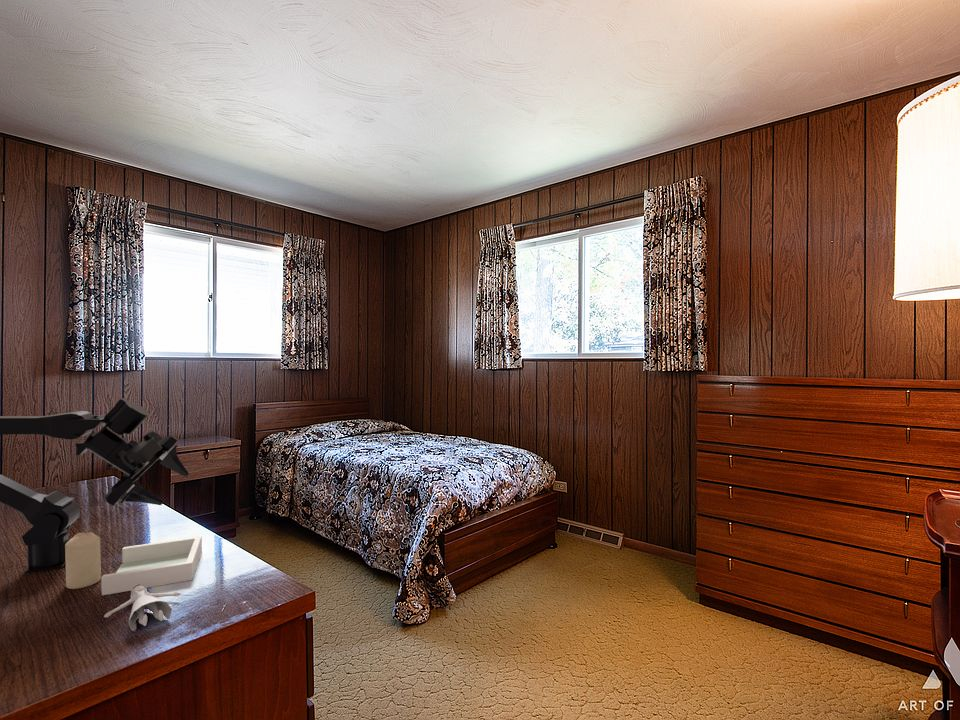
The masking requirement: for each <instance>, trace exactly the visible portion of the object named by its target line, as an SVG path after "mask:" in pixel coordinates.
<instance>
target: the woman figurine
mask: <svg viewBox="0 0 960 720" xmlns="http://www.w3.org/2000/svg"><path fill="white" fill-rule="evenodd" d="M147 590H148V589H147V588H145V587H144V586H143V585H140V584H137V585H135V586H134V587H133V588H132V590H131V591H130V598H129V600H127V601H125V602H124V603H122V604H120V605H119V606H118V607H116V608H114V609H112V610H110V611H108V612H106V613H105V614H104V616H103V618H108V617H110V616H111V615H113V614H114V613H116V612H118V611H120V610H122V609H124V608H126V607H128V606H129V605H132V607H131V611H130V615H129V619H128V626H129V627H130V630H131V631H132V632H135V631H134V627H135V621H136V618H137V615H138V617H139V620H138V623H139V624H140V625H142V626H144V627H146V626H147V624H148V623H147V622H148V616H147V613H145V614H144V609H149V610H150V611H152V612H153V614H152V615H153V617H154V618H155V619H157V620H159V621H160V622H162V621H164V620H163V615H164V616H165V617H166V618H167V619H168V620H170V619H171V615H172V611H173V608H172V607H171V606H170V605H169V603H168V602H167V601H165V600H163V599H161V598H164V597H165V598H166V597H180V596H182V593H180V592H178V591H176V592H173V593H171V592H170V593H168V592H166V593H165V592H161V593H158V592H157V593H151V592H149V591H147ZM153 622H154V621H153Z"/></svg>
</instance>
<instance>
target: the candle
mask: <svg viewBox="0 0 960 720" xmlns="http://www.w3.org/2000/svg"><path fill="white" fill-rule="evenodd" d="M65 561H66V564H65V586H66V588H67V589H69V590H70V589H71V590H75V589H77V590H78V589H83V588H85V587H90V586H93V585H95V584H97V583H98V582H100V580H101V577H102V571H101V566H102V565H101V564H102V563H101V537H100V536H99V535H96V533H94V532H92V531H90V532H87V533H86V532H78V533H76V534H75V535H74V536H73V537H71V538H70V540H69V541H68V542H67V543H66V544H65Z"/></svg>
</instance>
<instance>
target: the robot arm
mask: <svg viewBox="0 0 960 720" xmlns="http://www.w3.org/2000/svg"><path fill="white" fill-rule="evenodd" d="M149 416H150V413H149V412H148V410H146V408H144V407H143V406H141V405H139V404H136V403H134V402H132V401H129V400H127V399H126V398H119V400H117V402H116V403H115V405H114V406H113V407H112V408H111V409H110V410H109V412H107V413H106V414H102V415H101V414H100V415H98V414H97V415H96V414H95V415H94V414H92V413H91V412H90V411H86V410H77V411H70V412H64V413H63V412H62V413H57V414H52V415H51V414H49V415H37V416H36V415H29V416H28V415H25V416H24V415H23V416H22V415H19V416H18V415H10V416H8V415H6V416H5V415H4V416H3V415H2V416H1V415H0V435H1V436H2V435H41V436H46V437H50V438H54V439H55V438H56V439H62V440H69V441H70V440H76V439H78V438H82V437H85V436H87V435H88V436H87V437H86V438H85V439H84V440H83V441H79V442H76V443H74V444H75V448H76V449H75V455H76V456H81V455H83V454H85V453H87V451H90V453H92V454H94V455H96V456H97V457H98V458H101V459H102V460H104V461H105V462H107V467H108V468H110V469H112V468H116V469H118V470H119V471H121V472H123V473H124V476H122V477H121V478H120V479H119V480H118V481H117V482H116V483H115V484H114V485H113V486H111V488H110V489H109V490H108V492H107V493H106V494H105V495H104V498H105V502H107V504H110V505H111V506H113V507H114V506H115V505H117V504H118V503H120V504H124V503H125V502H129V503H141V504H142V503H144V504H151V505H155V506H156V505H158V506H162V505H163V504H164V501H163V500H162V499H160V498H159V497H157V496H156V495H154V494H153V493H152V492H150V491H147V490H146V489H144V488H143V486H142V485H141V483H140V482H137V483H136V484H134V483H135V482H136V481H137V480H139V478H140V477H141V476H142V475H143V474H144V473H145V472H146V471H147V470H148V469H150V468H151V466H153V464H155V462H157V461H159V460H160V461H161V462H159V464H160V465H162V466H164V467H165V468H166V469H169V470H171V471H173V472H175V473H176V474H178V475H180V476H182V477H185V478H187V477H188V476H190V473H189V471H188V470H187V469H186V467H185V466H184V464H183V463H182V461H181V460H180V458H179V456H178V454H177V448H178V447H179V446H178V444H177V443H178V442H179V439H177V438H176V437H175V436H172V435H166V436H165V437H164V438H163V437H162V436H161V435H160V434H159V433H157V432H156V431H153V430H150V431H149V432H147V433H145V435H144V436H143V438H142V439H143V440H142V441H141V442H137V441H135V440H133V439H132V440H131V441H128V440H126V439H125V438H123V437H122V436H125V435H133V433H134V432H135V431H136V430H137V429H138V428H139V427H140V425H142V423H143V422H145V421H146V419H147V418H148V417H149ZM99 427H102V428H101V429H100V430H99V431H98V432H97V431H94V430H95V429H96V428H99ZM74 500H76V498H75V497H70V496H67V495H66V494H64V493H63V492H61V491H59V490H55V491H53V492H51V493H49V494H43V493H40V492H37V491H35V490H33V489H31V488H29V487H27V486H25V485H23V484H21V483H19V482H17V481H15V480H13V479H11V478H9V477H7V476H5V475H3V474H1V473H0V504H2V505H4V506H7V507H9V508H11V509H14V510H15V511H17V512H19V513H21V514H22V516H23V517H24V519H25V520H26V522H27V523H28V524H29V525H30V526H32V527H30V528H29V530H27V531H26V532H25V533H24V534H23V535H22V536H21V539H22V542H23V543H24V545H25V546H26V547H27V568H25V569H24V573H25V574H26V573H33V572H39V571H40V572H41V571H48V570H53V569H59V568H63V567H64V566H66V561H65V544H66V543H67V542H68V541H69V540H70V539H71V538H70V539H69V536H70V535H69V532H67V531H69V530H70V529H71V527H72V524H74V523H75V522H76V521H77V520H78V519H79V518H80V513H81V509H80V507H81V506H80V505H79V503H77V502H76V501H74Z"/></svg>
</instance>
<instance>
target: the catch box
mask: <svg viewBox="0 0 960 720" xmlns="http://www.w3.org/2000/svg"><path fill="white" fill-rule="evenodd" d="M202 541H203V538H202V535H199V536H193V537H191V536H190V537H186V538H179V539H172V540H164V541H158V542H149V543H144V544H137V545H130V546H123V548H122V550H121V551H122V552H121V555H122V558H121V559H122V560H121V561H122V563H121V564H120V565H119V568H118V569H117V570H116V572H113V573H107V574H103V575H101V579H100V580H101V582H100V583H101V585H100V586H101V596H107V595H112V594H118V593H123V592H131V590H132V588H133V587H134V586H135V585H137V584H140V585H143V586H144V587H145V589H147V588H152V587H157V586H159V587H160V586H164V585H171V584H176V583H182V581H183V582H186V581H187V580H188V581H193V580H194V576H195V574H196V573H195V572H196V571H195V570H197V568H196V567H198V565H199V562H200V558H201V555H202V550H203V547H202V545H203V544H202V543H203V542H202ZM199 557H200V558H199ZM194 573H195V574H194ZM192 579H193V580H192ZM188 581H187V582H188Z"/></svg>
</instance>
